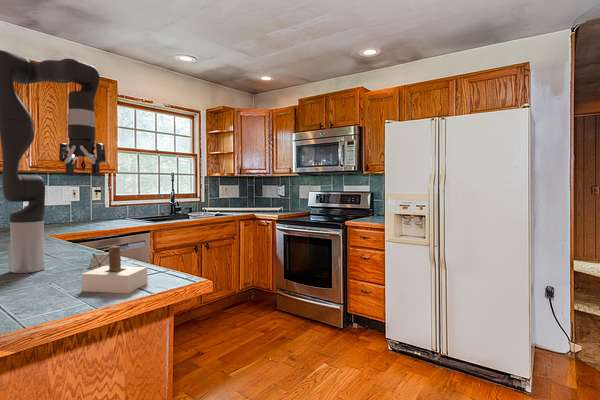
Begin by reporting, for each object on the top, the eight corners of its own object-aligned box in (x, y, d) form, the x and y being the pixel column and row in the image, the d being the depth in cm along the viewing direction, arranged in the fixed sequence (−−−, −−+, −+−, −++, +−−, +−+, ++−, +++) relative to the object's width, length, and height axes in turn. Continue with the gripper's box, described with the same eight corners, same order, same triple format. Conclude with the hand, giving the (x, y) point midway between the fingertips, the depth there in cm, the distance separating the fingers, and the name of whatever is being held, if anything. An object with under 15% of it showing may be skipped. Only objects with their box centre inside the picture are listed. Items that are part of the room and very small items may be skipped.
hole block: (81, 291, 98) (81, 273, 98) (105, 281, 108) (104, 265, 108) (128, 293, 97) (128, 275, 96) (147, 283, 107) (147, 267, 106)
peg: (107, 288, 101) (106, 247, 100) (113, 285, 104) (113, 245, 103) (117, 288, 101) (116, 248, 100) (123, 285, 104) (122, 246, 103)
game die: (97, 288, 113) (75, 267, 108) (104, 273, 120) (83, 253, 116) (122, 275, 113) (101, 253, 108) (127, 260, 121) (107, 240, 116)
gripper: (51, 123, 108) (53, 175, 108) (94, 123, 106) (95, 175, 107) (70, 127, 115) (71, 175, 116) (110, 127, 114) (110, 176, 114)
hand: (82, 175), depth 111 cm, fingers open, 8 cm apart
